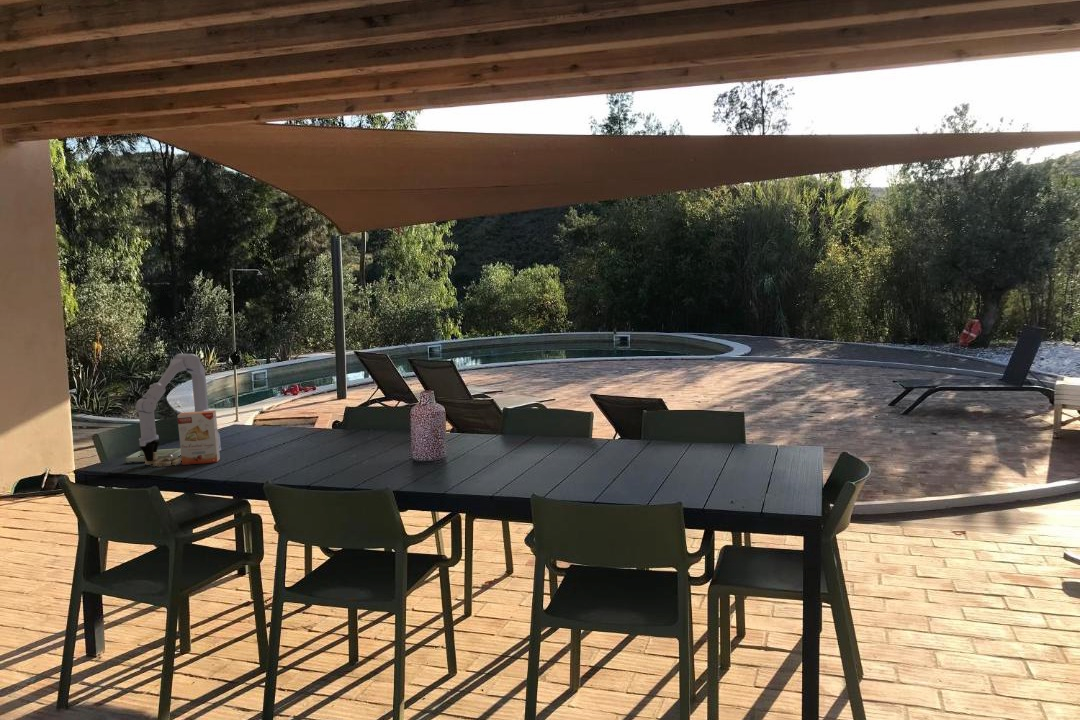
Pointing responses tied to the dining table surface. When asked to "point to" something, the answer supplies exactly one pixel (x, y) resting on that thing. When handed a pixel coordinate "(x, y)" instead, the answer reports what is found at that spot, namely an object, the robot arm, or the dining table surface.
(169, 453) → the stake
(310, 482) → the dining table surface
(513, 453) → the dining table surface
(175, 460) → the tan joined block frame
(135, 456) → the tray
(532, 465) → the dining table surface
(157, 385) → the robot arm
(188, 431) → the cracker box
